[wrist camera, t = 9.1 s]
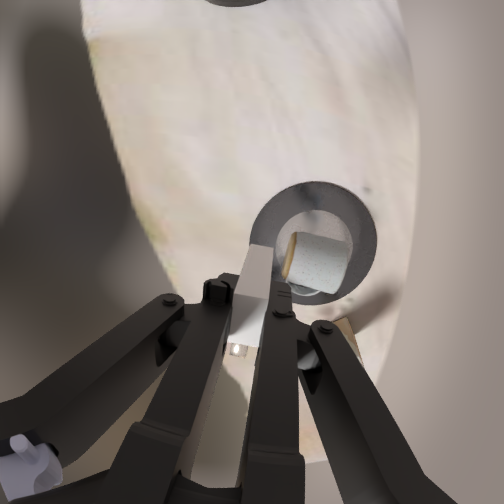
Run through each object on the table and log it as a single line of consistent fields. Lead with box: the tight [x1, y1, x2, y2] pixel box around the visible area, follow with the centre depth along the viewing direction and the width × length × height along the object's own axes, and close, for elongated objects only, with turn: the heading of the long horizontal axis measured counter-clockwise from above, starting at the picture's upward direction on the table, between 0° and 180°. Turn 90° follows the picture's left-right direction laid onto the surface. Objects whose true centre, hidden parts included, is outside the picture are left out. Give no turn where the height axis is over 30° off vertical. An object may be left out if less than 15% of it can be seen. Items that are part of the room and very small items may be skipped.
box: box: [332, 317, 365, 369], centre depth 41 cm, size 5×4×11 cm
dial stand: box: [230, 343, 248, 358], centre depth 38 cm, size 6×4×14 cm, turn 169°
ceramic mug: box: [281, 232, 349, 296], centre depth 38 cm, size 11×8×8 cm
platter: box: [249, 183, 376, 305], centre depth 41 cm, size 20×20×1 cm
